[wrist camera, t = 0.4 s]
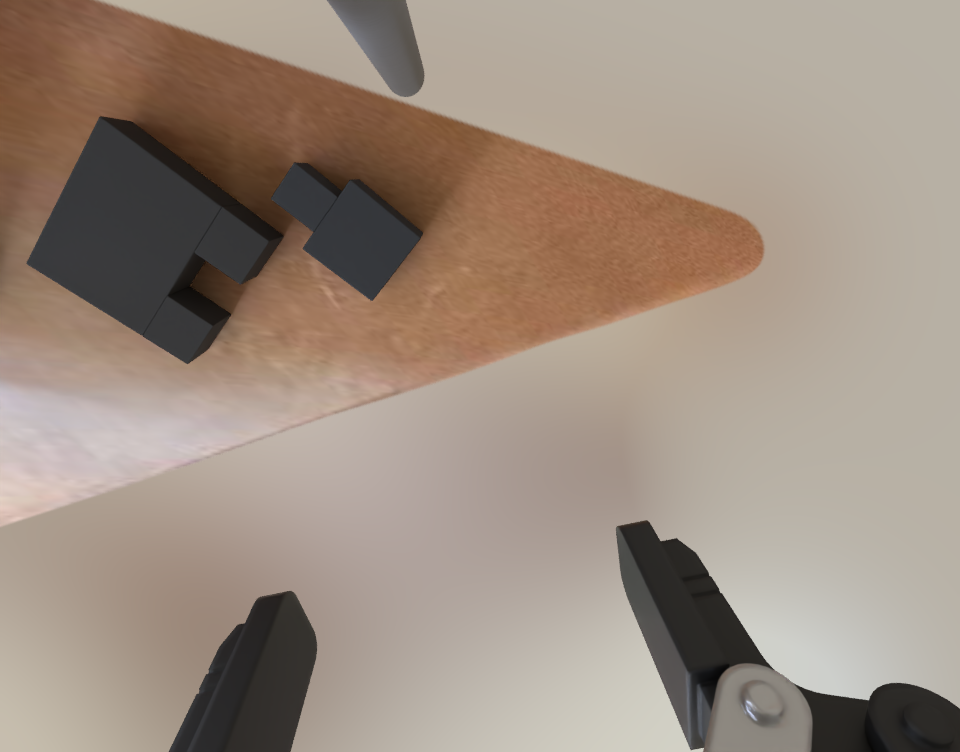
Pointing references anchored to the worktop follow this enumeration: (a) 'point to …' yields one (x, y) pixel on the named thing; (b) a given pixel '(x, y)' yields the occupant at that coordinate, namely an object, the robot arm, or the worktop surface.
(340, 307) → the worktop surface
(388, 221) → the pad
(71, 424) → the worktop surface
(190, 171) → the base pad
